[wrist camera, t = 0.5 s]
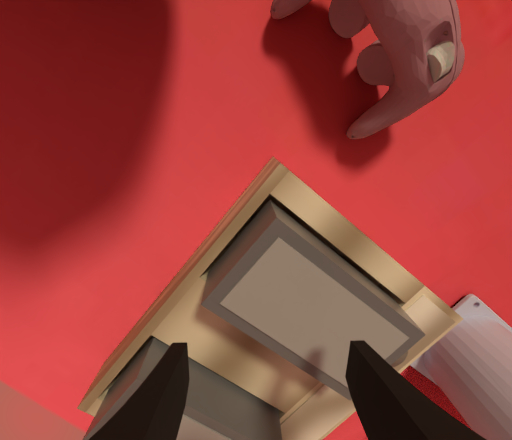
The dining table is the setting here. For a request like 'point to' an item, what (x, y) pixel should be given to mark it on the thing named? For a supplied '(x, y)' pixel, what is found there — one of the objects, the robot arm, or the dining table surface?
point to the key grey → (304, 299)
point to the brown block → (197, 402)
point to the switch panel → (248, 349)
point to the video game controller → (397, 52)
